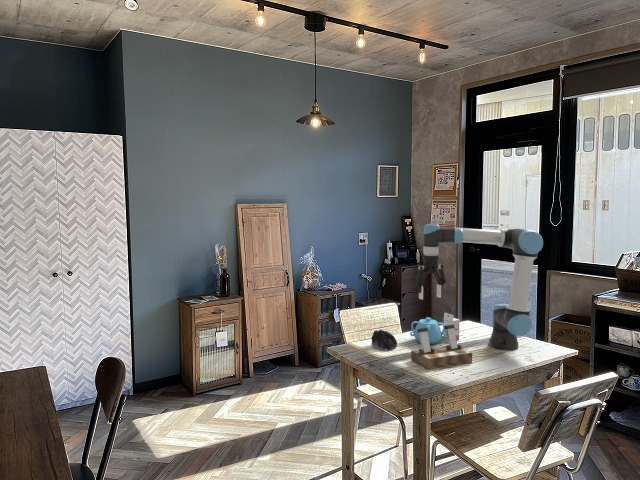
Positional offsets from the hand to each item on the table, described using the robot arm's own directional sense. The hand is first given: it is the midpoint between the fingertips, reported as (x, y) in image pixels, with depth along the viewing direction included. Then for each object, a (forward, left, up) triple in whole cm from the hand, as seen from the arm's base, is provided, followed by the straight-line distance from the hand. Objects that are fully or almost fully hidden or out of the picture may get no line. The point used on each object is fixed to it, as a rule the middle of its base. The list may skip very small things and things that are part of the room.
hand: (429, 298), depth 246 cm
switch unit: (0, +11, -30) cm, 32 cm away
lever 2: (-8, +10, -24) cm, 27 cm away
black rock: (+15, -20, -30) cm, 39 cm away
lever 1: (+8, +10, -24) cm, 27 cm away
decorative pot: (-13, -20, -30) cm, 38 cm away
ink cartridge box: (-29, -20, -30) cm, 46 cm away
